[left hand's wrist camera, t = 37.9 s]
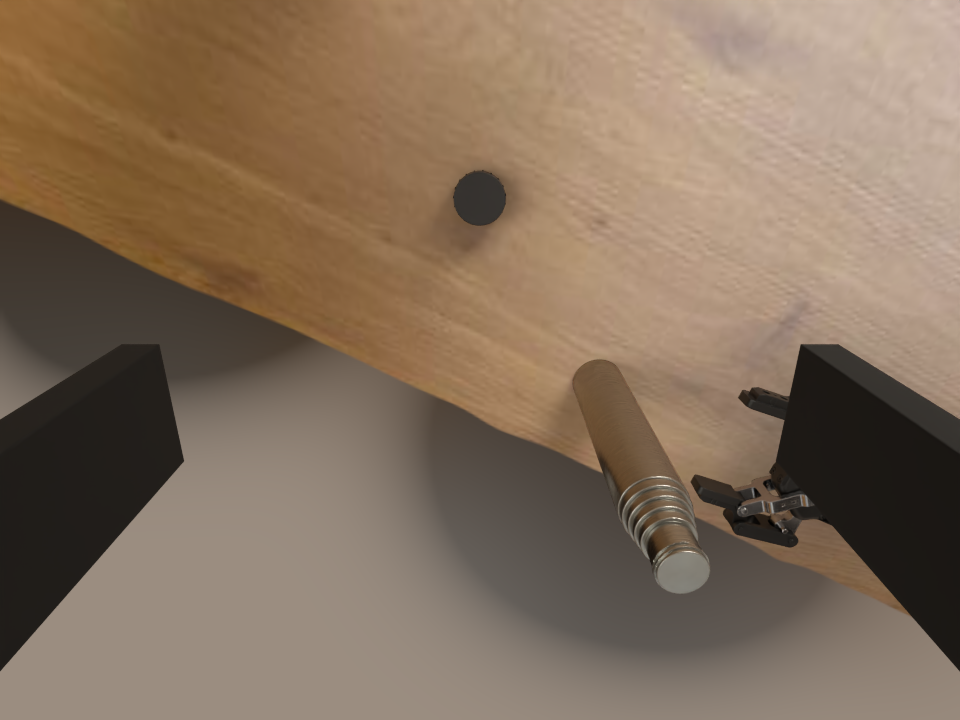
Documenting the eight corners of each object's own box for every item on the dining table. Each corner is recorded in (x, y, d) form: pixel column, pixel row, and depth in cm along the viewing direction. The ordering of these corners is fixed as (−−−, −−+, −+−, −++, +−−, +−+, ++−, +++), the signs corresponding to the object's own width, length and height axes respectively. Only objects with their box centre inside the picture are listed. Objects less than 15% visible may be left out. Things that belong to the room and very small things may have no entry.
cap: (506, 222, 48) (506, 225, 47) (455, 224, 49) (454, 227, 47) (504, 169, 47) (505, 170, 46) (452, 171, 47) (451, 173, 46)
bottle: (569, 364, 53) (637, 546, 30) (619, 355, 53) (725, 532, 30) (576, 407, 55) (644, 611, 32) (624, 399, 54) (728, 599, 32)
